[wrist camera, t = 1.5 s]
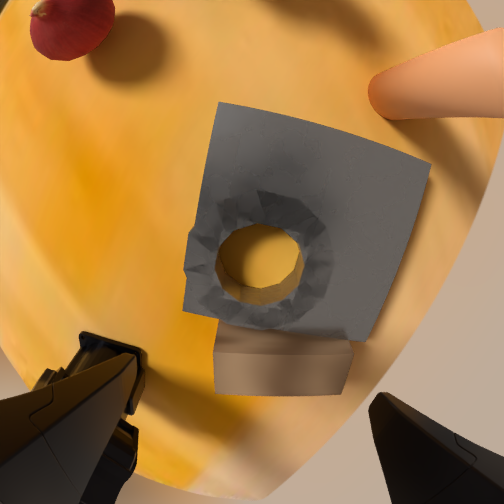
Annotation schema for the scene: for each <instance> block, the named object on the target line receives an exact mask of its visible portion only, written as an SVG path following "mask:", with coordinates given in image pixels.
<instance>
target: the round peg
mask: <svg viewBox="0 0 504 504" xmlns="http://www.w3.org/2000/svg"><path fill="white" fill-rule="evenodd" d="M368 96H369V100H370V103H371V105H372V107H373V108H374V109H375V111H376V112H377V113H378V114H380V115H381V116H382V117H384V118H386V119H390V120H403V119H419V118H444V117H488V118H504V28H495V29H492V30H489V31H486V32H482V33H479V34H476V35H473V36H470V37H467V38H465V39H462V40H459V41H456V42H453V43H451V44H448V45H445V46H443V47H440V48H438V49H435V50H432V51H430V52H427V53H425V54H422V55H420V56H418V57H415V58H413V59H411V60H408V61H406V62H404V63H401V64H399V65H397V66H395V67H392V68H390V69H388V70H386V71H384V72H381V73H379V74H377V75H376V76H374V77H373V78H372V80H371V81H370V84H369V87H368Z"/></svg>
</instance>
